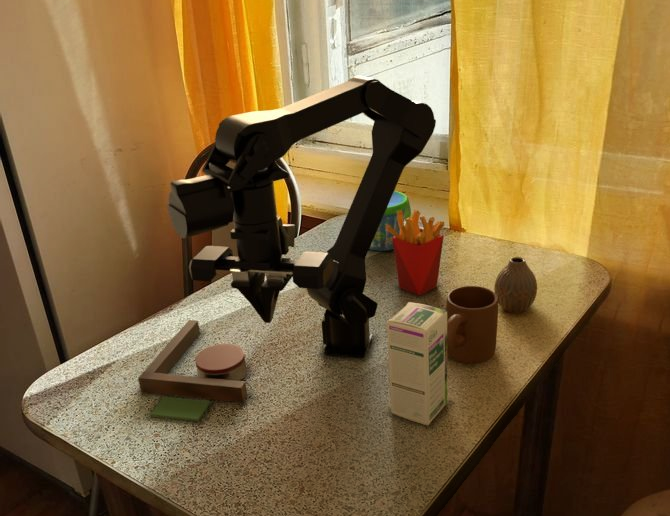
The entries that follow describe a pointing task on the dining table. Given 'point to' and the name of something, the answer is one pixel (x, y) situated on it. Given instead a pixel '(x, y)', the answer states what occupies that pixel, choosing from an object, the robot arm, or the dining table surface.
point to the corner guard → (187, 386)
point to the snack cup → (391, 222)
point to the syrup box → (418, 362)
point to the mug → (471, 324)
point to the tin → (222, 362)
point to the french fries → (417, 252)
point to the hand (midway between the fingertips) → (268, 321)
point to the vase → (516, 286)
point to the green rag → (180, 409)
